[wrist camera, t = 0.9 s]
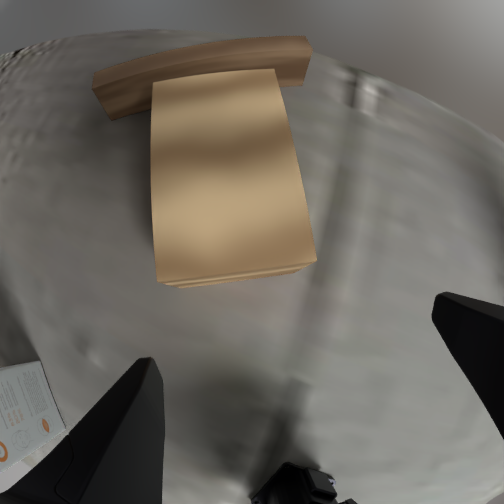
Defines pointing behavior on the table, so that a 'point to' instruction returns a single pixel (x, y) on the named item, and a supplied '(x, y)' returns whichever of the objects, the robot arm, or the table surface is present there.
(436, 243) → the table surface
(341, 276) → the table surface
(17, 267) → the table surface
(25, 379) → the small box
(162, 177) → the oak block
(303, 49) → the walnut board
